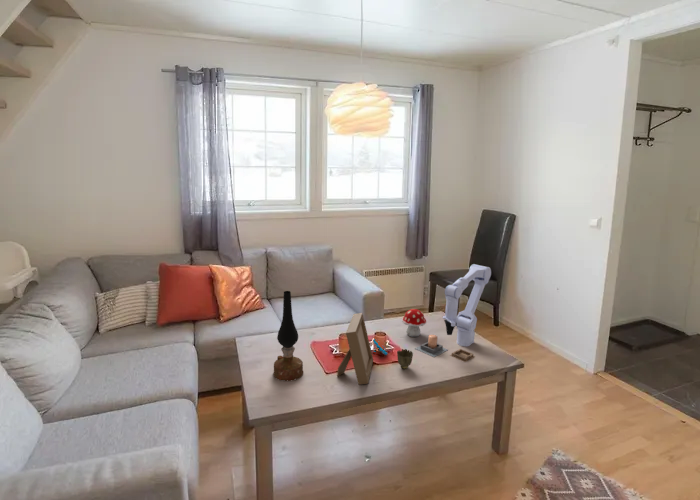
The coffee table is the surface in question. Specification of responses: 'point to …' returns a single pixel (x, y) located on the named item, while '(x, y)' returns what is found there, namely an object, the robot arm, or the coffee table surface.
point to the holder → (462, 355)
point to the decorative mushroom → (414, 321)
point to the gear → (379, 348)
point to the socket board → (429, 351)
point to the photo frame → (358, 350)
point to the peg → (432, 341)
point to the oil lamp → (287, 345)
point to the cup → (404, 358)
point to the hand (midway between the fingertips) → (449, 334)
